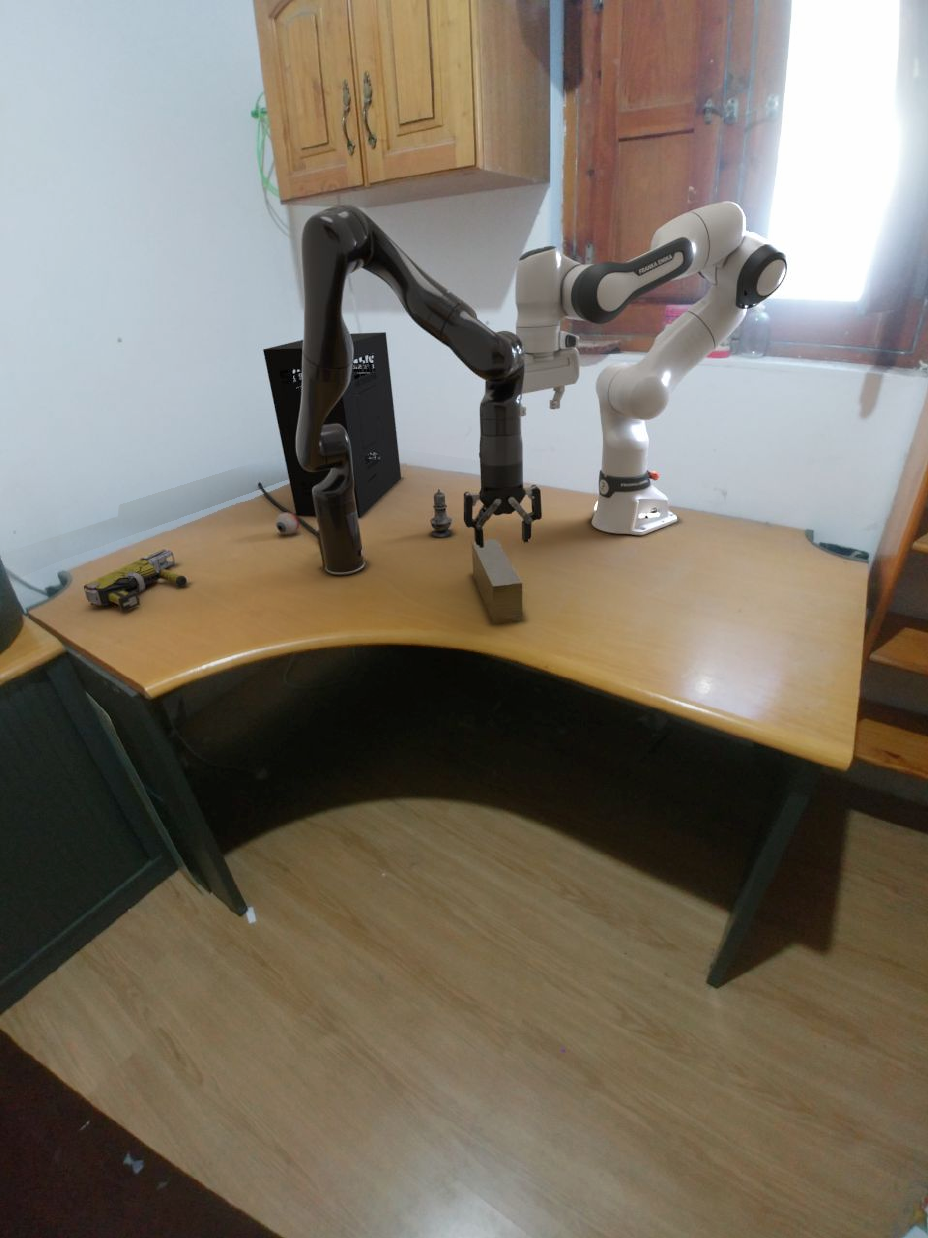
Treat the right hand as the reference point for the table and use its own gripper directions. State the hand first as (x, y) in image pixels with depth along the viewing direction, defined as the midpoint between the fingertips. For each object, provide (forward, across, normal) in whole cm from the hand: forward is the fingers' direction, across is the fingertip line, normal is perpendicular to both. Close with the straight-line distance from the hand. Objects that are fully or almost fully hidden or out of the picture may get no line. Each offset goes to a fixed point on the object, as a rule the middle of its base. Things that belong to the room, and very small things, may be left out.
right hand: (538, 412), depth 128 cm
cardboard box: (+32, -15, +74) cm, 82 cm away
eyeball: (+32, -43, +55) cm, 76 cm away
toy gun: (+32, -80, +44) cm, 96 cm away
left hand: (+18, -24, -18) cm, 34 cm away
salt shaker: (+33, -10, +27) cm, 44 cm away
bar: (+33, -20, -10) cm, 40 cm away
